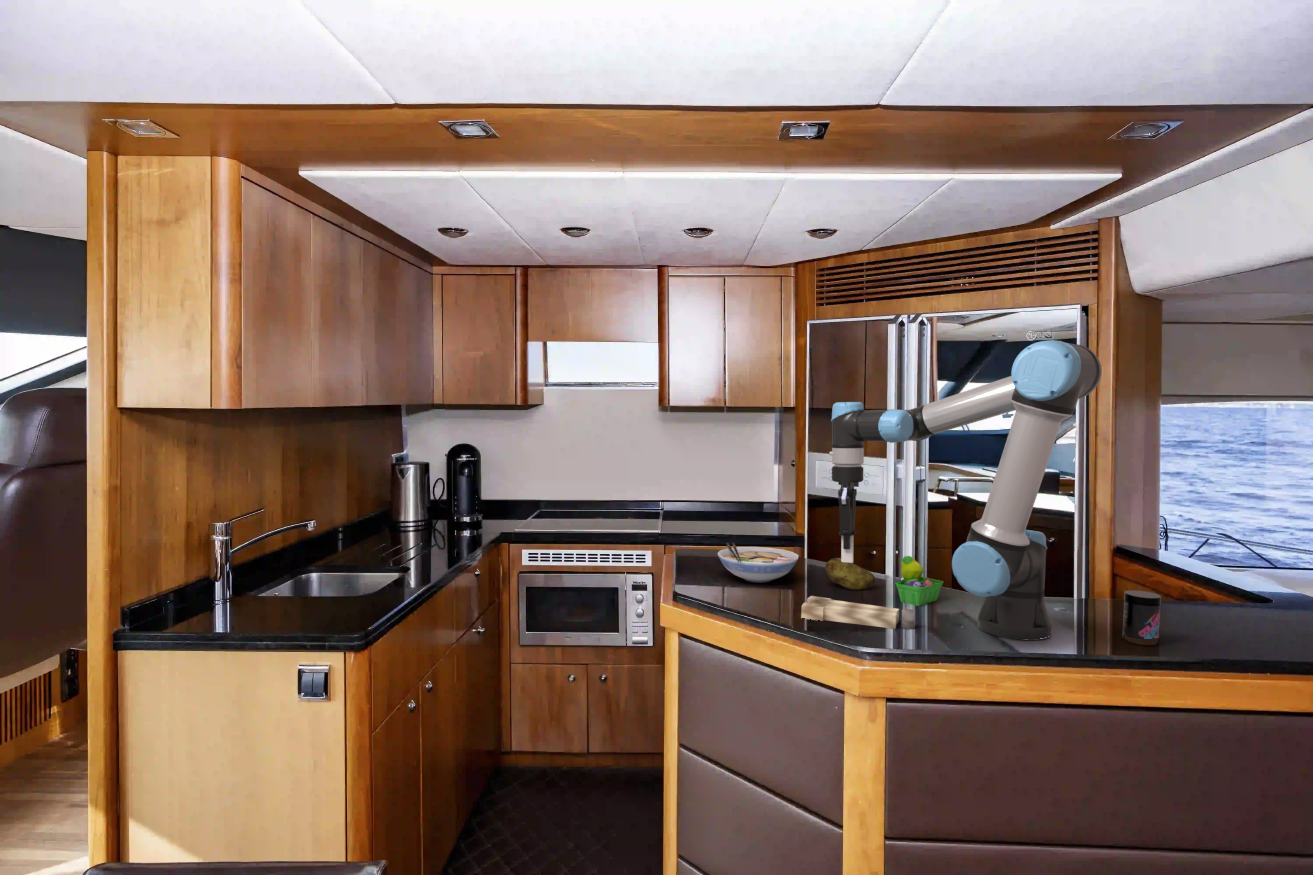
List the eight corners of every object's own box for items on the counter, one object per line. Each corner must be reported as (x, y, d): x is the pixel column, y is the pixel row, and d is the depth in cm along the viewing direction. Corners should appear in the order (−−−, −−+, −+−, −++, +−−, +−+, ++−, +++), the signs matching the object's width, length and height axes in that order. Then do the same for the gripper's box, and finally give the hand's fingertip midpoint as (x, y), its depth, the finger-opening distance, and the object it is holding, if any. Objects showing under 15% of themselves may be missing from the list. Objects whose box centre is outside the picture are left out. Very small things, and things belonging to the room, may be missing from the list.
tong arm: (899, 620, 181) (899, 607, 181) (896, 624, 178) (897, 611, 178) (810, 607, 191) (811, 595, 191) (806, 611, 188) (807, 598, 188)
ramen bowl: (806, 591, 208) (806, 561, 208) (719, 590, 209) (720, 559, 208) (791, 571, 233) (791, 543, 233) (714, 569, 234) (714, 542, 233)
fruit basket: (920, 608, 194) (922, 563, 193) (889, 600, 200) (890, 557, 200) (944, 600, 201) (945, 557, 201) (912, 594, 208) (914, 551, 207)
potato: (870, 594, 207) (871, 564, 206) (821, 588, 212) (822, 559, 212) (876, 587, 214) (877, 558, 214) (829, 582, 220) (830, 553, 219)
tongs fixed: (915, 626, 178) (915, 609, 177) (913, 632, 173) (913, 615, 173) (805, 613, 187) (805, 597, 187) (801, 618, 183) (801, 602, 182)
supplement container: (1132, 646, 166) (1134, 597, 165) (1115, 636, 173) (1118, 589, 172) (1165, 647, 166) (1167, 598, 165) (1147, 637, 172) (1150, 590, 172)
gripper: (836, 463, 198) (836, 556, 199) (827, 466, 186) (827, 565, 187) (866, 464, 196) (866, 558, 196) (859, 467, 183) (859, 567, 184)
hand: (847, 561), depth 192 cm, fingers closed
